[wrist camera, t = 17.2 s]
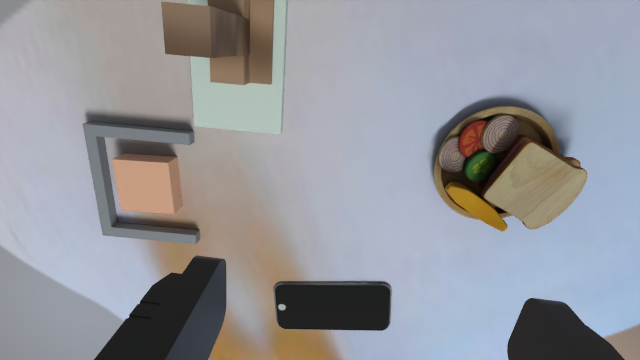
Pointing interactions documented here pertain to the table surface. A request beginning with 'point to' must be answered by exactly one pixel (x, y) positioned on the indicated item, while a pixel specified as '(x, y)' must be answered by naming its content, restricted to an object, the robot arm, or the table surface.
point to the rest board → (242, 89)
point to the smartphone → (333, 305)
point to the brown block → (224, 37)
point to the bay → (104, 188)
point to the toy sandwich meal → (506, 169)
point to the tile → (148, 183)
